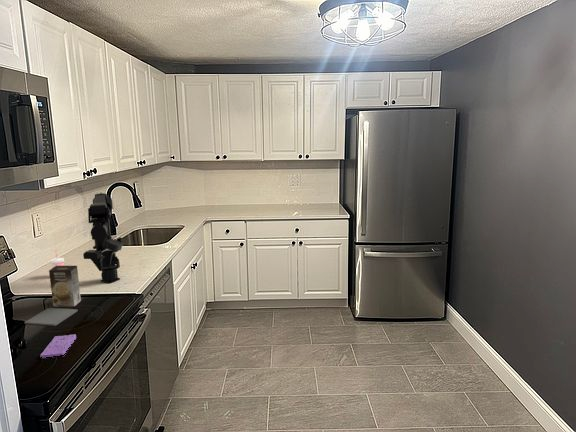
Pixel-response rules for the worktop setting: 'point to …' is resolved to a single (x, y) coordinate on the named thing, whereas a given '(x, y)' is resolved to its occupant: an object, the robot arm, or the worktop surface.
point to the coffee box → (65, 286)
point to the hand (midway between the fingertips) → (104, 268)
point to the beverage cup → (57, 261)
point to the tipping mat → (51, 316)
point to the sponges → (58, 346)
